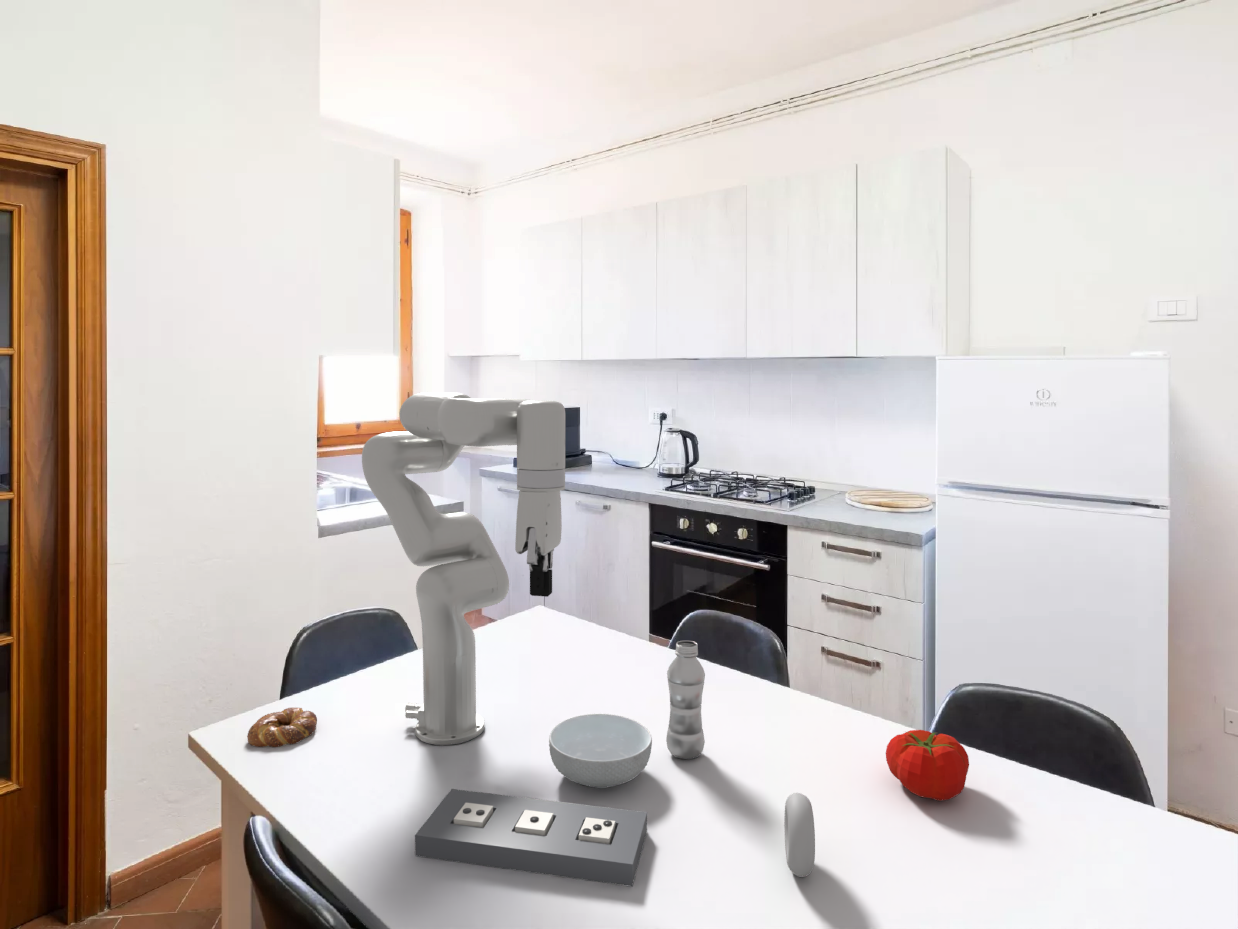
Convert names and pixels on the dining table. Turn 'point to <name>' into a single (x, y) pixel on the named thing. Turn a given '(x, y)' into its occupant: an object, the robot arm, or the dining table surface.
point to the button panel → (535, 838)
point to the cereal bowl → (600, 749)
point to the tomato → (928, 763)
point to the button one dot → (534, 822)
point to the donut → (799, 834)
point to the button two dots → (474, 815)
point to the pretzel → (282, 728)
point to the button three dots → (597, 831)
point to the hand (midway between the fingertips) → (541, 594)
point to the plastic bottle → (685, 702)
